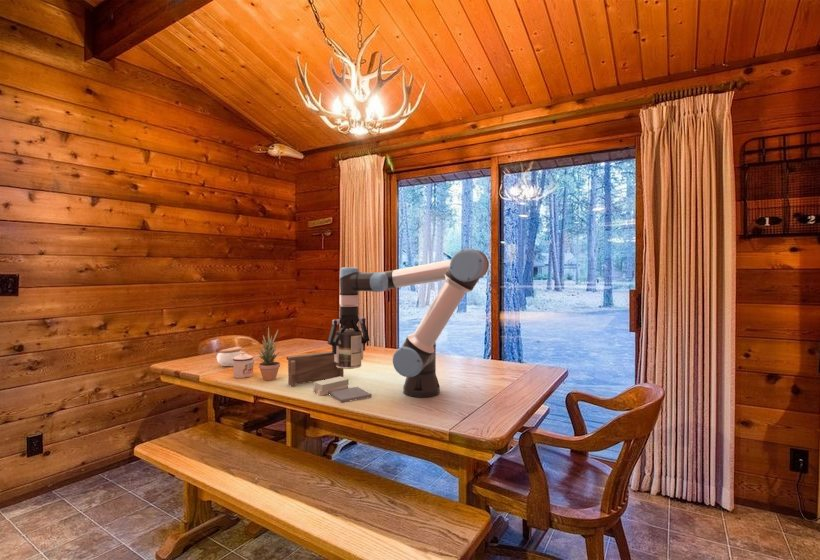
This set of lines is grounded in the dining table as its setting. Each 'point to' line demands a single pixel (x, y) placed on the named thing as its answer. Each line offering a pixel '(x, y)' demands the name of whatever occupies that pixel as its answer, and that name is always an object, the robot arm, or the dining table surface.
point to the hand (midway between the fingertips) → (348, 360)
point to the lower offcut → (328, 390)
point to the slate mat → (349, 394)
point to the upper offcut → (331, 383)
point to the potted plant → (269, 359)
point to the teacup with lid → (243, 365)
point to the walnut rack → (312, 368)
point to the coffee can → (349, 349)
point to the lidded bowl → (227, 354)
